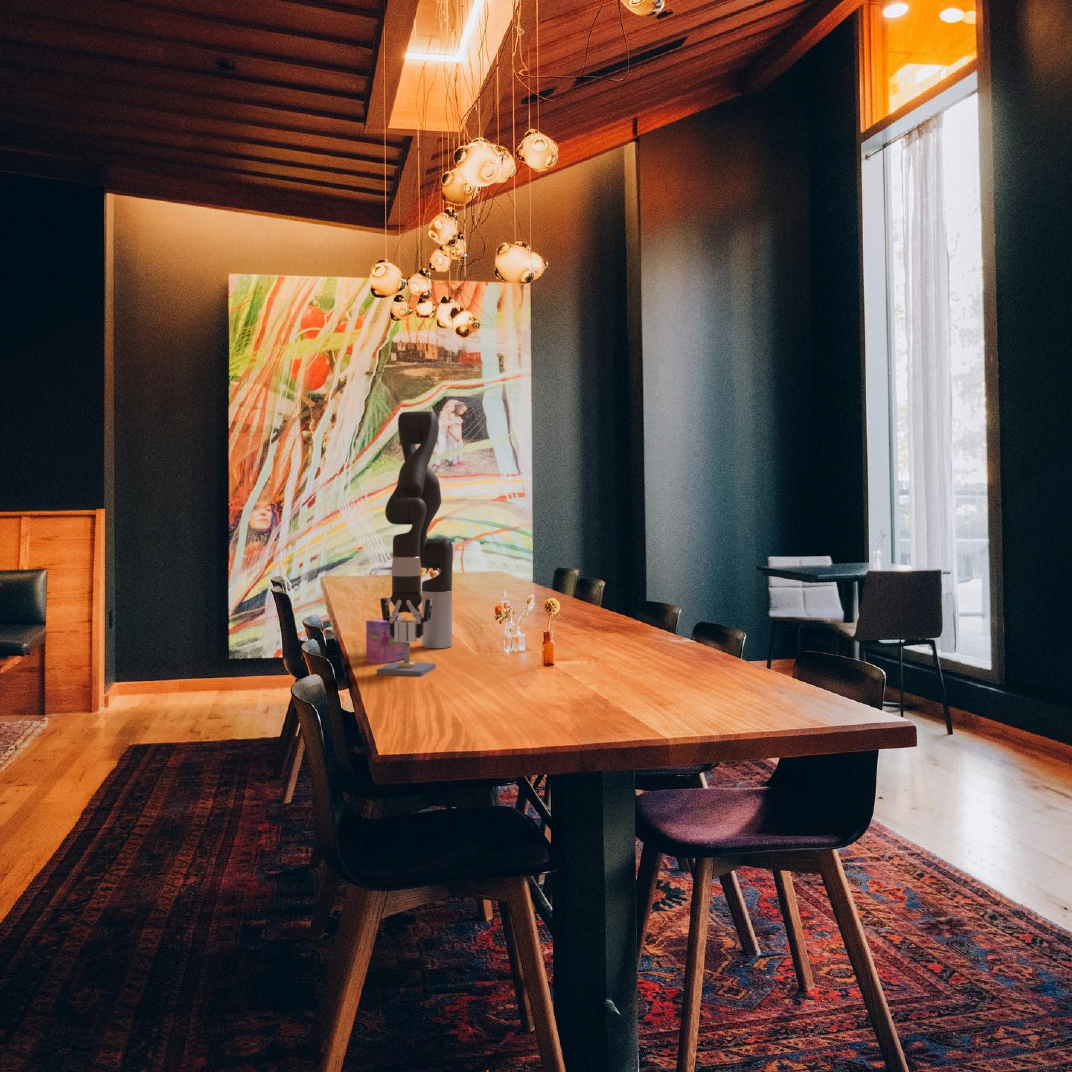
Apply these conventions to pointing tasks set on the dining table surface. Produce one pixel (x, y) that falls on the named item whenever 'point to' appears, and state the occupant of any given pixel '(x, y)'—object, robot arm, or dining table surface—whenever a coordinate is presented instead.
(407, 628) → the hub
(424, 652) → the dining table surface
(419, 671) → the shaft stand
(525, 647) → the dining table surface
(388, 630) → the box
